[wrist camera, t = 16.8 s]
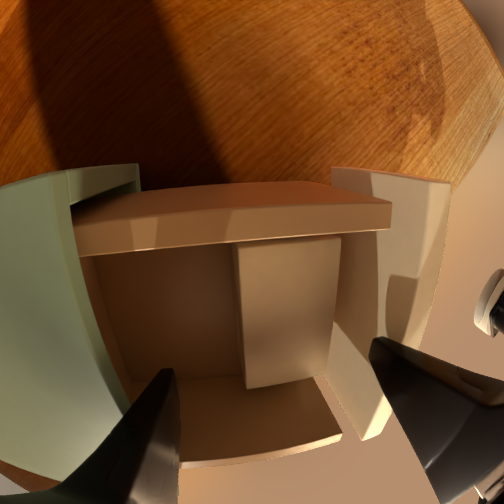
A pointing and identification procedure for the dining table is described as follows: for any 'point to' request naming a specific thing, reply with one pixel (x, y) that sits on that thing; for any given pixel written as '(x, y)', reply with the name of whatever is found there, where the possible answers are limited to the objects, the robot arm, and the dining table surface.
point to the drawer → (222, 299)
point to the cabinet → (53, 325)
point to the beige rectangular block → (284, 306)
